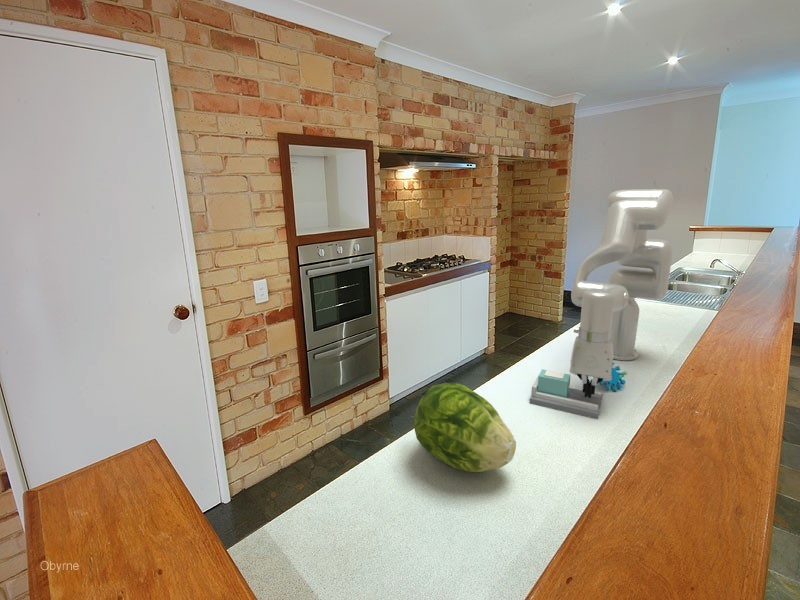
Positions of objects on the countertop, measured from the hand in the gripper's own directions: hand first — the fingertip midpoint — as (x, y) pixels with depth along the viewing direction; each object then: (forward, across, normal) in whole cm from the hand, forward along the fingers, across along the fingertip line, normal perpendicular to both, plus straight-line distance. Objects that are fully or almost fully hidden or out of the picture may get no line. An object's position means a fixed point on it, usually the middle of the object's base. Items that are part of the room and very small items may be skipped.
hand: (588, 395), depth 113 cm
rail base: (+3, -6, 0) cm, 7 cm away
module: (+2, -9, 0) cm, 9 cm away
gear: (+4, +4, +16) cm, 17 cm away
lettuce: (+4, -21, -39) cm, 45 cm away
